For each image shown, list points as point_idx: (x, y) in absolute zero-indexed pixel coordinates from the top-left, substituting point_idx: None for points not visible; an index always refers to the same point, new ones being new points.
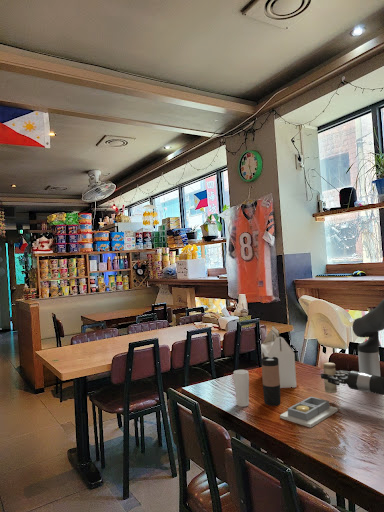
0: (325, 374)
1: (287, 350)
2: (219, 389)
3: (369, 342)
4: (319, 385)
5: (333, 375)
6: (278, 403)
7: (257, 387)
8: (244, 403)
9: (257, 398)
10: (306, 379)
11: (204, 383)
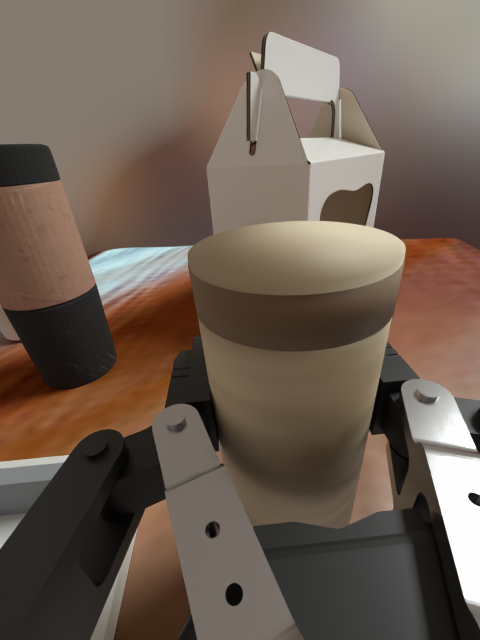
0: (190, 371)
1: (280, 150)
2: (136, 267)
3: None
4: (415, 359)
5: (189, 475)
6: (60, 383)
7: None
8: (2, 330)
9: (111, 324)
10: (403, 308)
11: (157, 248)
